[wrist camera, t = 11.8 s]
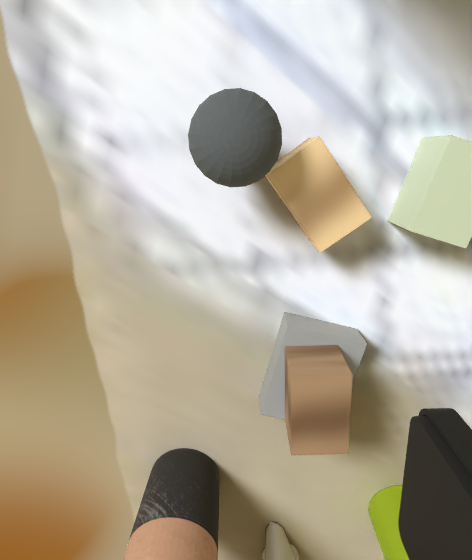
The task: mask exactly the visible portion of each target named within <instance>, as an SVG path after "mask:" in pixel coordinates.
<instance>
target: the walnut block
mask: <svg viewBox="0 0 472 560" xmlns="http://www.w3.org/2000/svg"><path fill="white" fill-rule="evenodd" d="M351 395H352V373H351V371H350V369H349V367H348V365H347V363H346V361H345V359H344V357H343V355H342V353H341V351H340V349H339V347H338V345H315V346H285V421H286V427H287V433H288V439H289V445H290V451H291V455H324V454H349V434H350V415H351Z"/></svg>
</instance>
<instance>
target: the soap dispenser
mask: <svg viewBox="0 0 472 560" xmlns="http://www.w3.org/2000/svg"><path fill="white" fill-rule="evenodd" d="M401 495H402V486H391V487H388V488H385V489H383V490H381V491H379V492H378V493H377V494H376V495H375V496H374V497H373V498H372V500H371V501H370V504H369V509H368V511H369V516H370V518H371V521H372V524H373V527H374V530H375V532H376V535H377V538H378V541H379V544H380V546H381V549H382V552H383V555H384V558H385V560H409V558H408V555H407V553H406V551H405V548H404V546H403V543H402V541H401V537H400V533H399V525H398V520H399V511H400V503H401Z"/></svg>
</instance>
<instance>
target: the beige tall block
mask: <svg viewBox="0 0 472 560" xmlns="http://www.w3.org/2000/svg"><path fill="white" fill-rule="evenodd" d="M262 560H299V554H298V551H297V549H296V548H295V547H294V546H293V545H291V544H289V541H288V539H287V536H286V534H285V531H284V529H283V527H282V526H281V525H280V524H279V523H277V522H271V523H269V524H268V526H267V528H266V548H265V549H264V550H263V553H262Z"/></svg>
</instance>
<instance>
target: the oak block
mask: <svg viewBox="0 0 472 560" xmlns="http://www.w3.org/2000/svg"><path fill="white" fill-rule="evenodd" d="M265 177H266V178H267V179H268V181H269V182H270V184H271V185H272V187H273V188H274V190H275V191H276V192H277V194H278V195H279V197H280V198H281V200H282V201H283V203H284V204H285V205H286V207H287V208H288V210H289V211H290V213H291V214H292V216H293V217H294V218H295V220H296V221H297V223H298V224H299V226H300V227H301V229H302V230H303V231H304V233H305V234H306V236H307V237H308V239H309V240H310V241H311V243H312V244H313V245H314V246H315V248H316V249H317V250H318V251H319V253H321V252H322V251H324V250H325V249H327V248H328V247H330V246H331V245H333V244H334V243H335V242H337V241H338V240H340V239H341V238H343V237H344V236H346V235H347V234H349V233H350V232H352V231H353V230H354V229H356V228H357V227H359V226H360V225H362V224H363V223H365V222H366V221H368V220H369V219H371V218H372V217H371V216H370V214H369V213H368V211H367V210H366V208H365V206H364V205H363V203H362V202H361V200H360V199H359V197H358V195H357V194H356V192H355V191H354V189H353V188H352V186H351V185H350V183H349V181H348V180H347V178H346V177H345V175H344V174H343V172H342V170H341V169H340V167H339V166H338V164H337V163H336V161H335V159H334V158H333V156H332V155H331V153H330V152H329V150H328V148H327V147H326V145H325V144H324V142H323V141H322V139H321V138H320V136H318V137H313V138H308V139H307V140H306V141H304V142H303V143H302V144H300V145H299V146H298V147H296V148H295V149H294V150H292V151H291V152H290V153H288V154H287V155H286V156H284V157H283V158H282V159H280V160H279V161H278V162H276V163H275V164H274V166H273V167H272V169H271V170H270V172H269V173H267V174H266V175H265Z"/></svg>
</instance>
